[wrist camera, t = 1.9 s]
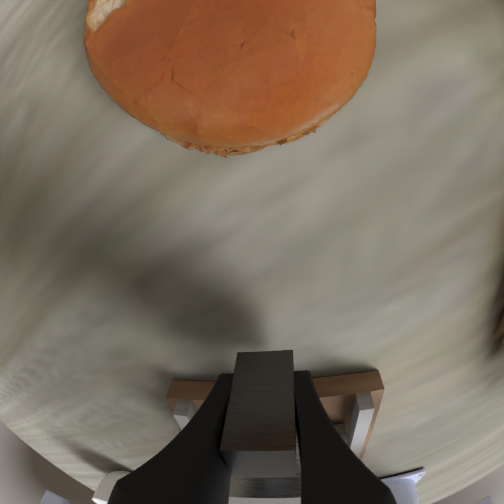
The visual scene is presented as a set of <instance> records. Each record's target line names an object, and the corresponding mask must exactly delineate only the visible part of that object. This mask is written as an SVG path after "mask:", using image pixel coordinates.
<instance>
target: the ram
mask: <svg viewBox="0 0 504 504" xmlns="http://www.w3.org/2000/svg"><path fill="white" fill-rule="evenodd" d="M293 380H294V360H293V350H283V351H264V352H238V353H237V358H236V364H235V369H234V375H233V380H232V388H231V391H230V397H229V402H228V408H227V413H226V418H225V424H224V429H223V435H222V440H221V446H220V452H221V454H222V456H223V458H224V460H225V462H226V464H227V466H228V469H229V471H230V473H231V479H230V490H229V503H228V504H301V467H300V457H299V448H298V440H297V432H296V419H295V395H294V382H293ZM334 426H335V428H336V429H337V431H338V432H339V434H340V435H341V437H342V438H343V440H344V441H345V442H346V444H347V445H348V442H347V435H346V428H345V424H340V425H334Z"/></svg>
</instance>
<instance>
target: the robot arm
mask: <svg viewBox="0 0 504 504" xmlns="http://www.w3.org/2000/svg"><path fill="white" fill-rule="evenodd" d="M233 375H234V374H220V375H219V377H218V379H217V381H216V383H215V384H214V386H213V388H212V389H211V391H210V393H209V394H208V396H207V397H206V399H205V400H204V402H203V403H202V405H201V406H200V408H199V409H198V411H197V412H196V413H195V415H194V416H193V417H192V418H191V420H190V421H189V422H188V423H187V425H186V426H185V427H184V428H183V429H182V431H181V432H180V433H179V434H178V435H177V436H176V437H175V438H174V439H173V440H172V441H171V442H170V443H169V444H168V445H167V446H166V447H165V448H163V449H162V450H161V451H160V452H159V453H158V454H157V455H155V456H154V457H153V458H151V459H150V460H149V461H147V462H146V463H145V464H143V465H142V466H140V467H139V468H137V469H136V470H134V471H132V472H131V473H129V474H127V475H126V476H124V477H122V478H120V479H118V480H117V481H116V483H115V485H114V487H113V489H112V492H111V494H110V497H109V500H108V502H107V504H228V503H229V490H230V479H231V473H230V471H229V469H228V466H227V464H226V462H225V460H224V458H223V456H222V454H221V452H220V446H221V440H222V435H223V429H224V424H225V418H226V413H227V408H228V402H229V397H230V391H231V388H232V380H233ZM293 382H294V395H295V419H296V432H297V440H298V448H299V457H300V467H301V504H420V503H419V498H418V494H417V489H416V485H415V484H416V483H417V482H418V481H419V480H420V478H421V477H422V476H423V475H424V474H425V472H426V469H421V470H417V471H414V472H410V473H406V474H402V475H398V476H394V477H390V478H385V479H379V478H378V477H376V476H375V475H374V474H373V473H372V472H371V471H370V470H369V469H368V468H367V467H366V466H365V465H364V464H363V463H362V461H361V460H360V459H359V458H358V457H357V456H356V455H355V454H354V452H353V451H352V450H351V449H350V447H349V446H348V445H347V444H346V442H345V441H344V440H343V438H342V437H341V435H340V434H339V432H338V431H337V429H336V428H335V426H334V425H333V423H332V421H331V420H330V418H329V416H328V414H327V412H326V411H325V409H324V407H323V405H322V403H321V401H320V398H319V396H318V394H317V391H316V389H315V386H314V383H313V380H312V377H311V372H310V371H308V370H305V371H294V380H293ZM40 504H72V503H70V502H69V501H67V500H65V499H63V498H61V497H60V496H58V495H55V494H54V493H52V492H50V491H46V492H45V495H44V496H43V499H42V501H41V503H40ZM474 504H493V503H492V499H491V497H490V496H488V497H486V498H484V499H482V500H480V501H478V502H476V503H474Z"/></svg>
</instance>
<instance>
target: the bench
mask: <svg viewBox="0 0 504 504" xmlns="http://www.w3.org/2000/svg"><path fill="white" fill-rule="evenodd" d="M312 380H313V383H314V386H315V389H316V391H317V394H318V396H319V398H320V401H321V403H322V405H323V407H324V409H325V411H326V412H327V414H328V416H329V418H330V420H331V421H332V423H333V425H340V424H345V428H346V435H347V442H348V446H349V447H350V449H351V450H352V451H353V452H354V454H355V455H356V456H357V457H358V458H359V459H360V460H362V457H363V455H364V452H365V449H366V446H367V444H368V441H369V438H370V435H371V432H372V429H373V426H374V423H375V420H376V416H377V413H378V410H379V406H380V403H381V400H382V396H383V392H384V386H383V383H382V380H381V377H380V374H379V371H378V370H375V371H369V372H362V373H354V374H346V375H338V376H329V377H318V378H312ZM215 383H216V381H189V380H172V382H171V385H170V387H169V390H168V393H167V395H166V400H167V402H168V404H169V406H170V408H171V410H172V412H173V416H174V418H175V420H176V421H177V423H178V425H179V427H180V429H181V431H182V429H183V428H184V427H185V426H186V425H187V423H188V422H189V421H190V420H191V418H192V417H193V416H194V415H195V413H196V412H197V411H198V409H199V408H200V406H201V405H202V403H203V402H204V400H205V399H206V397H207V396H208V394H209V393H210V391H211V389H212V388H213V386H214V384H215Z"/></svg>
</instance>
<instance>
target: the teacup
mask: <svg viewBox="0 0 504 504" xmlns="http://www.w3.org/2000/svg"><path fill="white" fill-rule="evenodd" d="M129 473H131V472H127V471H114V472H111V473H109V474H107V475H106V476H105V477H104V478H103V479H102V481H101V482H100V484H99V486H98V488H97V490H96V492H95V494H94V496H93V498H92V500H93V501H94V502H95V503H97V504H107V502H108V500H109V497H110V494H111V492H112V489H113V487H114V485H115V483H116V481H117V480H118V479H120V478H122V477H124V476H126V475H127V474H129Z"/></svg>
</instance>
